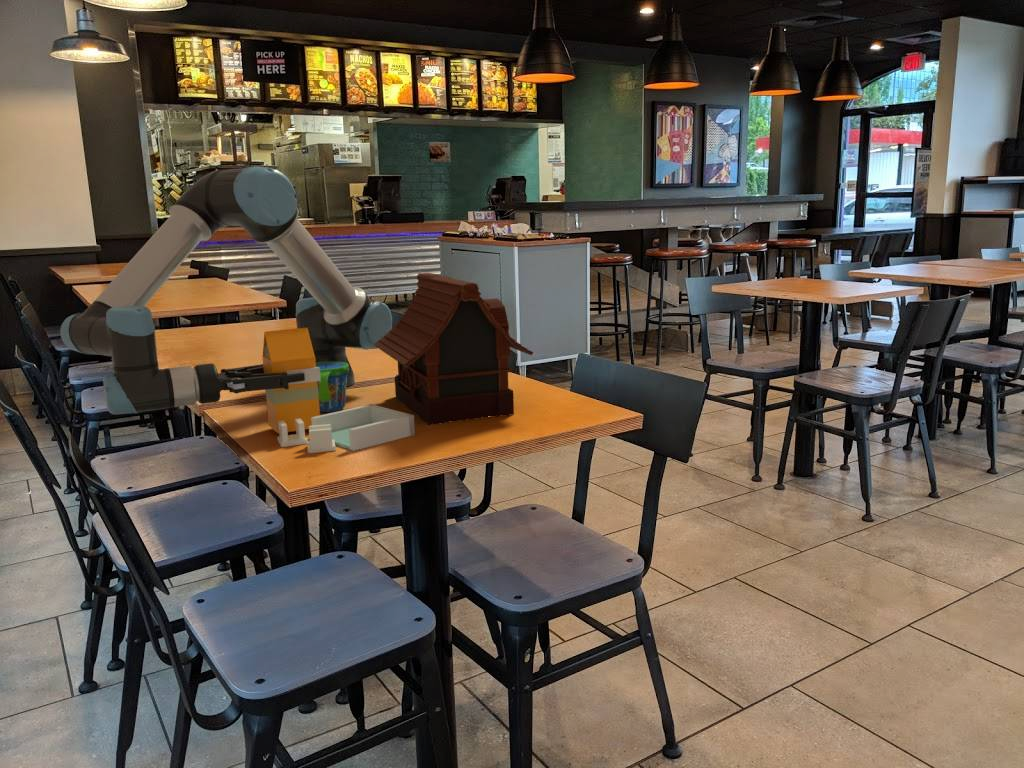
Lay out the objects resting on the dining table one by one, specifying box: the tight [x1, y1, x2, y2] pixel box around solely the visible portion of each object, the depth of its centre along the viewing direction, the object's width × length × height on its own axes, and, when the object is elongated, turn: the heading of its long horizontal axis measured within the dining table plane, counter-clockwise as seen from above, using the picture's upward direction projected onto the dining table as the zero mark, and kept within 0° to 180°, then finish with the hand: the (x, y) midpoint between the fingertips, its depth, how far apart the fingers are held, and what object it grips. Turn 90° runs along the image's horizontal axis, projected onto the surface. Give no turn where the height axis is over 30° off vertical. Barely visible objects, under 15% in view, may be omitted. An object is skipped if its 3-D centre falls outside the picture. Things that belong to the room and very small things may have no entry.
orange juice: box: [262, 327, 321, 434], centre depth 157 cm, size 8×9×20 cm
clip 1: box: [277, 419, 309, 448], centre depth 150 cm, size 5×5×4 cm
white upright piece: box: [307, 424, 337, 454], centre depth 145 cm, size 5×5×4 cm
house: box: [374, 272, 534, 426], centre depth 175 cm, size 35×28×29 cm
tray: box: [311, 403, 416, 452], centre depth 153 cm, size 14×14×4 cm
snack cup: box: [316, 362, 349, 413], centre depth 175 cm, size 16×10×10 cm
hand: (313, 370), depth 159 cm, fingers closed on orange juice, 8 cm apart
